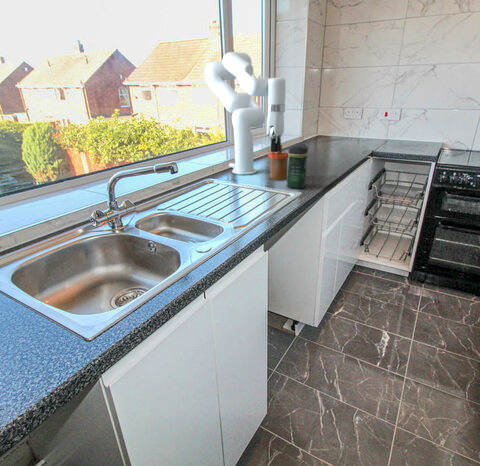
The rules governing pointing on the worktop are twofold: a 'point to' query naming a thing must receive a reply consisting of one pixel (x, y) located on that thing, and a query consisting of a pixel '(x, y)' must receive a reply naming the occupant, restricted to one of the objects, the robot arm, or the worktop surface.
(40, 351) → the worktop surface
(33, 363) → the worktop surface
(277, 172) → the bottle
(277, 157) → the bung
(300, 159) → the coffee jar
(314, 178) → the worktop surface
